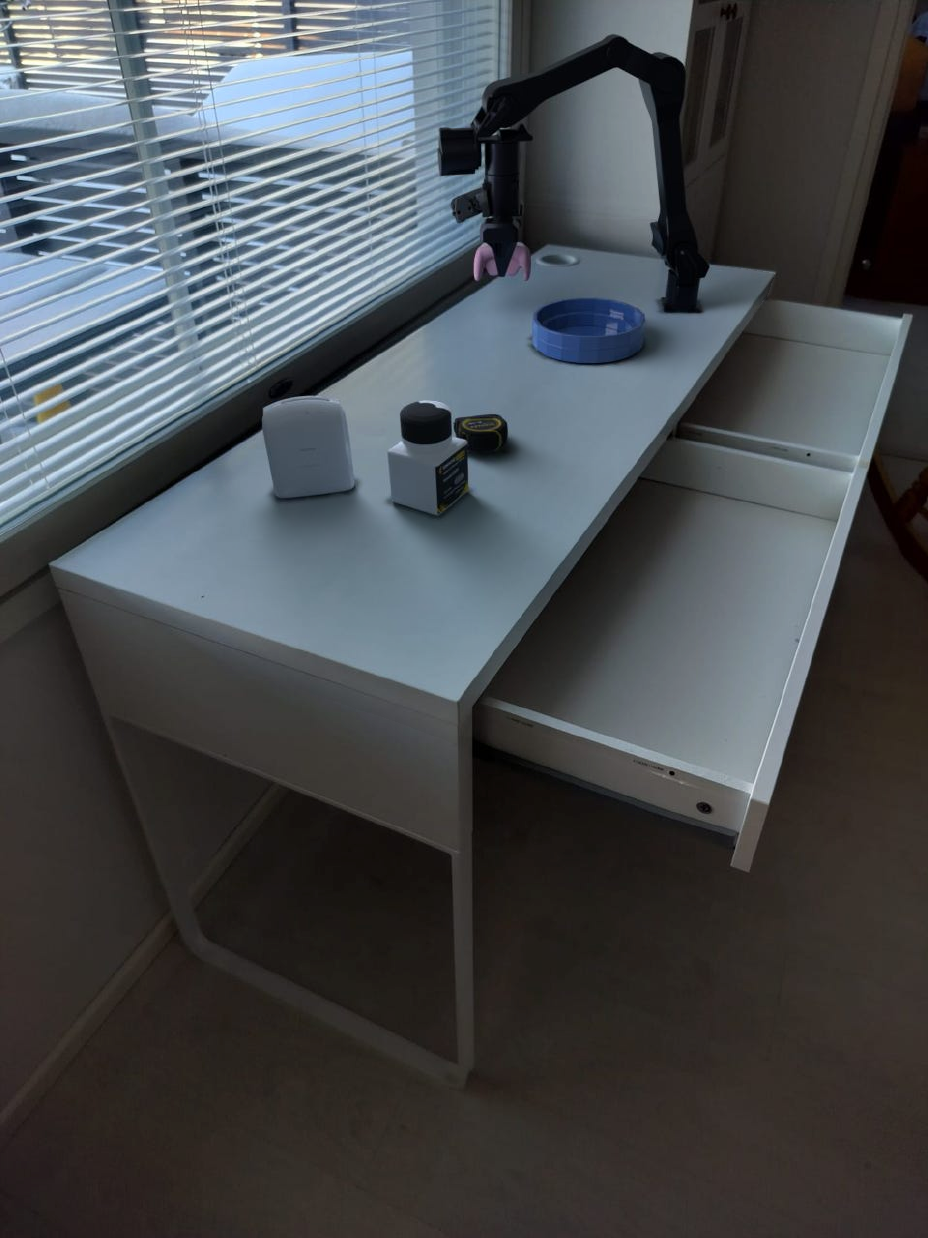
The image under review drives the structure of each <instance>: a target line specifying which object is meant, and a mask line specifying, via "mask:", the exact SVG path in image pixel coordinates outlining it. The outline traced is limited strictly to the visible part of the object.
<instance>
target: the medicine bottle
mask: <svg viewBox="0 0 928 1238" xmlns="http://www.w3.org/2000/svg"><path fill="white" fill-rule="evenodd" d="M399 421H400V422H399V423H400V433H401V435H400V436H401V440H400V441H399V442H398V443H396V444H395V445H393V446H392V447H391V448H389V449H388V450H387V454H386V455H387V464H388V475H389V486H390V497H391V502H392V503H395V504H399V505H402V506H405V507H408V508H412V509H415V510H417V511H421V512H425V513H427V514H431V515H433V516H440V515H441V514H442V513H444V512H445V511H447V509H448V508H449V507H451V506H452V505H453V504H454V503H456V502H457V501H458V500H459V499H461V497H463V496H464V495H465V494H466V493H468V491H469V455H468V453H469V451H468V450H467V441H466V440H463V439H459V438H457V437H456V436H453V422H452V421H453V420H452V410H451V408H450V407H448V405H447V404H445V403H443V402H440V401H436V400H430V399H428V400H427V399H424V400H418V401H414V402H411V403H408V404H407V405H405V406H403V408H402V410H401V411H400V413H399Z"/></svg>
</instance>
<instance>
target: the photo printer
mask: <svg viewBox="0 0 928 1238" xmlns="http://www.w3.org/2000/svg"><path fill="white" fill-rule="evenodd" d="M347 419H348V418H347V413H346V411H345V410H344V408H343V406H342V405H341V399H338V398H335V397H330V396H329V397H328V396H321V395H302V396H294V397H289V398H285V399H281V400H278V401H276V402H273V403H271V404H268V405H267V406H264V407H263V408H262V417H261V430H262V436H263V441H264V447H265V451H266V456H267V460H268V461H267V462H268V467H269V471H270V475H271V483H272V486H273V491H274V494H275V496H276V497H277V498H279V499H290V498H302V497H309V496H317V495H325V494H335V493H341V492H347V491H350V490H352V489H353V488H354V487H355V484H356V481H355V473H354V464H353V457H352V450H351V442H350V435H349V427H348V420H347Z"/></svg>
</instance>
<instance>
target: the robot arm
mask: <svg viewBox="0 0 928 1238" xmlns="http://www.w3.org/2000/svg"><path fill="white" fill-rule="evenodd" d="M613 69H619V70H621V71H623V72H625V73H627V74H629V75H631V76H632V77H635V78H636V79H637V80H638V85H639V88H640V91H641V97H642V99H643V102H644V105H645V107H646V110H647V113H648V115H649V118H650V121H651V127H652V138H653V139H652V140H653V148H654V160H655V169H656V179H657V189H658V202H659V213H658V217H657V221H651V222H650V223H649V226H650V231H651V234H652V240H651V244H650V245H651V246H652V247H653V248H654V249H655V250H656V252H657V254H659V256H660V257H661V258H662V259H663V262H664V266H667V267H668V268H669V269H668V270H667V279H666V285H665V295H664V296H662V297H660V302H661V307H662V311H663V312H670V313H671V312H674V313H677V312H679V313H699V312H701V305H700V303H699V302H700V301H699V300H698V297H699V290H700V284H701V283H700V282H701V279H705V278H706V276H707V274H708V272H709V270H710V267H711V265H710V264H709V263H708V262H707V260H706V259H705V258H704V257H703V256H702V255H701V253H699V250H700V247H699V242H698V238H697V234H696V230H695V227H694V224H693V222H692V219H691V217H690V213H689V211H688V208H687V195H686V185H685V184H686V183H685V169H684V155H683V145H682V144H683V143H682V131H681V114H682V111H683V107H684V106H683V105H684V101H685V96H686V86H687V85H686V84H687V83H686V82H687V70H686V67H685V64H684V63H683V62H682V61H681V59H679V58H677V57H675V56H673V55H671V54H667V53H666V52H661V51H656V52H655V51H654V52H653V53H650V52H648V51H646V50H644V49H643V48H640V47H639V46H637V45H636V44H633V43H631V42H629V40H628V39H627V38H625V37H624V36H622V35H620V34H616V33H612V34H608V35H607V36H605V37H604V38H603V39H602V40H600V41H598V42H596V43H593V44H591V45H589V46H587V47H585V48H583V49H581V50H579V51H577V52H574V53H572V54H570V55H568V56H566V57H563V58H562V59H560V60H557V61H555V62H553V63H551V64H549V65H547V66H545V67H543V68H541V69H538V70H536V71H534V72H530V73H525V74H519V75H514V76H513V75H512V76H508V77H505V78H501V79H497V80H494V81H492V82H491V83H489V84H488V85H487V86H486V87H485V88H484V91H483V94H482V96H481V106H480V108H479V109H478V111H477V113H476V115H475V116H474V118H473V119H472V121H471V122H470V124H469V127H468V126H467V127H446V126H445V127H439V128H438V144H437V145H438V148H437V149H436V150H437V153H436V154H437V163H438V165H437V167H438V173H439V176H440V177H451V176H466V175H475V174H476V171H479V169H480V168H482V163H483V151H482V150H483V149H482V145H484V146H483V147H484V178H483V183H482V184H481V187H479V188H475V189H472V190H470V191H468V192H465V193H463V194H460V195H457V196H456V197H454V198H452V200H451V202H450V208H451V215H452V216H453V217H454V219H455V221H456V224H462V223H464V222H465V221H466V220H469V219H471V218H473V217H477V216H478V215H481V218H484V221H482V223H481V224H480V226H479V227H480V228H479V242H480V243H482V244H483V243H487V244H488V245H489V246H490V247H491V248H492V251H493V255H494V260H495V264H496V268H497V273H498V275H497V276H498V277H499V278H505V277H506V275H507V269H508V267H509V264H510V261H511V259H512V256H513V253H514V251H515V248H516V245H517V243H518V242H520V229H521V226H522V222H523V218H520V217H524V200H523V199H522V197H521V181H522V178H521V177H522V176H521V142H522V143H523V142H532V141H533V139H534V136H533V135H532V134H531V133H530V131H528V130H527V129H526V126H525V124H524V123H523V122H521V121H522V120H524V119H525V118H526V117H527V116H529V115H530V114H532V113H533V111H535V110H536V109H537V108H538V107H539V106H540V105H542V104H543V103H544V102H545V101H547V100H549V99H551V98H553V97H556V96H557V95H560V94H562V93H564V92H566V91H568V90H570V89H573V88H575V87H577V86H579V85H581V84H583V83H585V82H588V81H590V80H593V78H596V77H598V76H600V75H602V74H604V73H607V72H609V71H611V70H613ZM515 125H516V126H515ZM514 126H515V127H514ZM511 127H512V128H511ZM495 133H496V134H495ZM518 217H519V218H518Z"/></svg>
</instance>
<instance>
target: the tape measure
mask: <svg viewBox="0 0 928 1238" xmlns="http://www.w3.org/2000/svg"><path fill="white" fill-rule="evenodd" d="M452 425H453V432H454V434H455V437H456V438H459V439H463V440H466V441H467V452H470V453H478V454H488V453H493V452H496V451H500V450H501V449H502V448H504V447H505V446H506V445H507V443H508V438H509V427H508V422H507V421H506V419H505V418H503V416H502V415H500V414H498V413H486V414H475V415H469V416H459V417H455V419H454V421H453V422H452Z"/></svg>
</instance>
